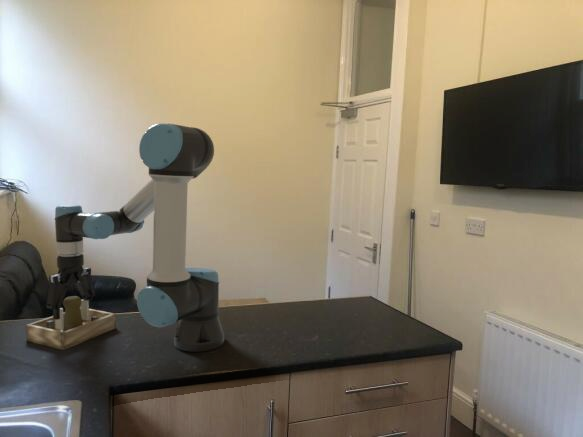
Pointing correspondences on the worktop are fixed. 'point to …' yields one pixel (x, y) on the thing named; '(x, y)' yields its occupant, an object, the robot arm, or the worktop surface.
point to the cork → (72, 312)
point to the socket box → (70, 330)
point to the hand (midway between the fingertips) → (72, 323)
